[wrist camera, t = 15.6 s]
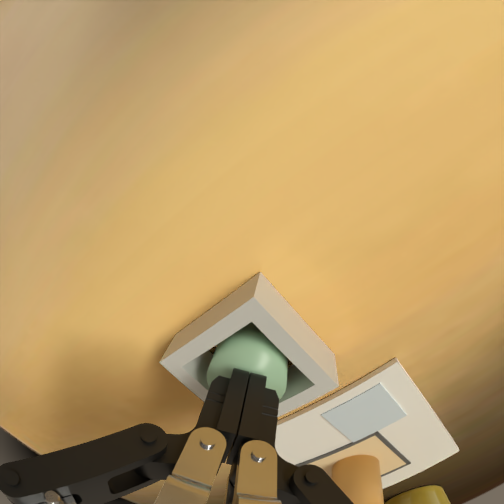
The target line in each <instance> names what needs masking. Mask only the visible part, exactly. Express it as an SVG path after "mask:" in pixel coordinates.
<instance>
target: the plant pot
mask: <svg viewBox="0 0 504 504" xmlns="http://www.w3.org/2000/svg"><path fill="white" fill-rule="evenodd" d="M385 504H450V502H449V500H448V498H447V496H446V494H445V492H444V490H443V489H442V487H440V486H437V485H429V486H423V487H419V488H415V489H412V490H409V491H406V492H404V493H401V494H399V495H397V496H395V497H393V498H391V499H390V500H388V501H387V502H386V503H385Z"/></svg>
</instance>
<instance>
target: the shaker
mask: <svg viewBox="0 0 504 504" xmlns="http://www.w3.org/2000/svg"><path fill="white" fill-rule="evenodd" d="M332 480H333V481H334V482H335V483H336V485H337V486H338V487H339V488H340V489H341V490H342V491H343V492H344V493H345V494H346V496H347V497H348V498H349V499H350V500H351V501H352V502H353V503H354V504H384V498H383V489H382V480H381V472H380V464H379V460H378V459H377V458H376V457H374V456H370V455H355V456H350V457H347V458H344V459H342V460H340V461H338V462H337V463H335V464H334V465H333V467H332Z"/></svg>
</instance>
